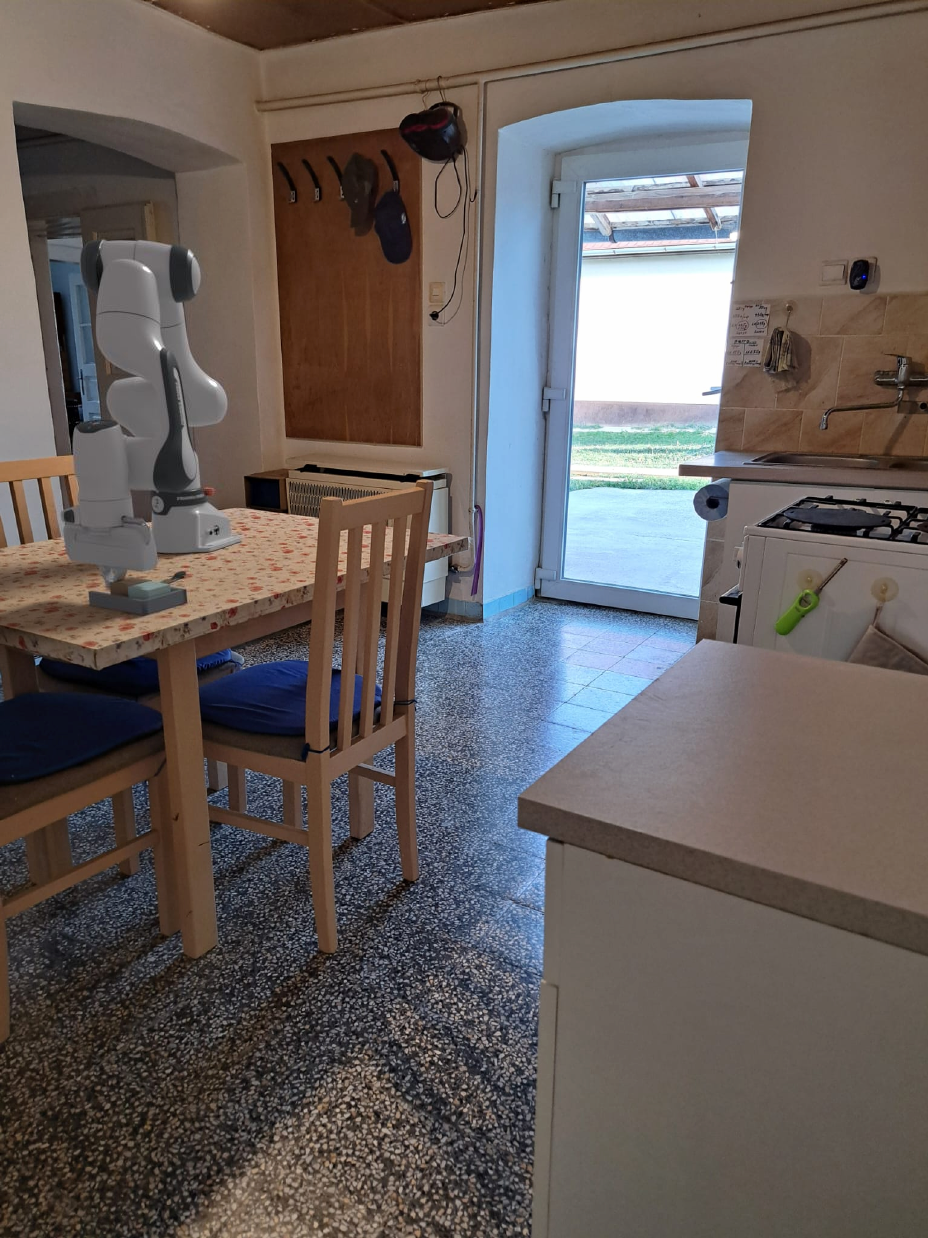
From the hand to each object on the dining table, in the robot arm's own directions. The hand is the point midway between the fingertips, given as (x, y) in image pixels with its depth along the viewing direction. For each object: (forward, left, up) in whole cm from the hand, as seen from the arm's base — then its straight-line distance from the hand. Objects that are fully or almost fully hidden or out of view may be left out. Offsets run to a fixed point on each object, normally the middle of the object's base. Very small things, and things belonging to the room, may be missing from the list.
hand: (115, 589), depth 154 cm
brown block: (0, +4, -2) cm, 5 cm away
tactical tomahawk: (-11, 0, -3) cm, 11 cm away
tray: (0, +6, -2) cm, 6 cm away
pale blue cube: (0, +9, -2) cm, 9 cm away
